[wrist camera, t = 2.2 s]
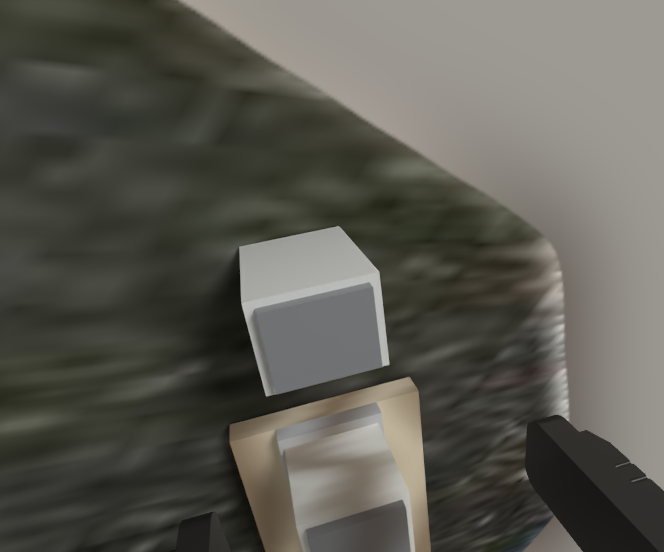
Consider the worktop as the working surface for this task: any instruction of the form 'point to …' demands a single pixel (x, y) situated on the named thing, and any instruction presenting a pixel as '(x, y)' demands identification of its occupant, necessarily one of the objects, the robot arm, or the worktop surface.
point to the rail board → (274, 478)
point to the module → (312, 309)
